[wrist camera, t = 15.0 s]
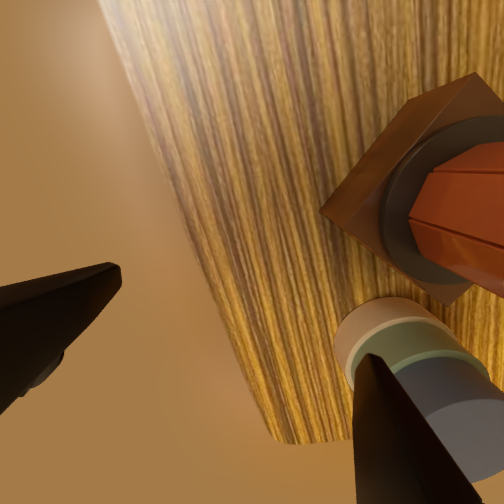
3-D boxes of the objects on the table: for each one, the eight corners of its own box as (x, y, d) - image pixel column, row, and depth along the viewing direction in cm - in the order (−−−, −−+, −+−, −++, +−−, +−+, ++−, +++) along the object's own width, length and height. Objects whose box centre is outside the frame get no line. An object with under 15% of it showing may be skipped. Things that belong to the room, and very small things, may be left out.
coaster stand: (401, 274, 20) (455, 313, 15) (318, 211, 18) (346, 229, 13) (492, 182, 18) (596, 189, 12) (408, 99, 16) (488, 65, 11)
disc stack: (381, 391, 24) (453, 512, 16) (313, 349, 22) (351, 460, 14) (453, 329, 22) (583, 432, 13) (383, 277, 20) (482, 357, 12)
